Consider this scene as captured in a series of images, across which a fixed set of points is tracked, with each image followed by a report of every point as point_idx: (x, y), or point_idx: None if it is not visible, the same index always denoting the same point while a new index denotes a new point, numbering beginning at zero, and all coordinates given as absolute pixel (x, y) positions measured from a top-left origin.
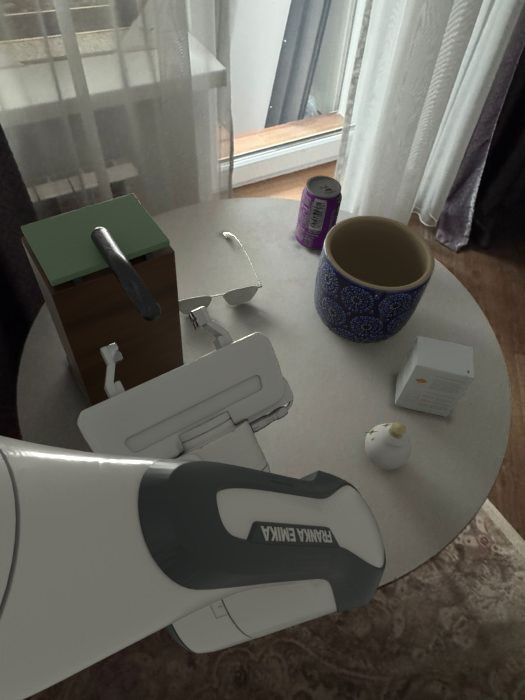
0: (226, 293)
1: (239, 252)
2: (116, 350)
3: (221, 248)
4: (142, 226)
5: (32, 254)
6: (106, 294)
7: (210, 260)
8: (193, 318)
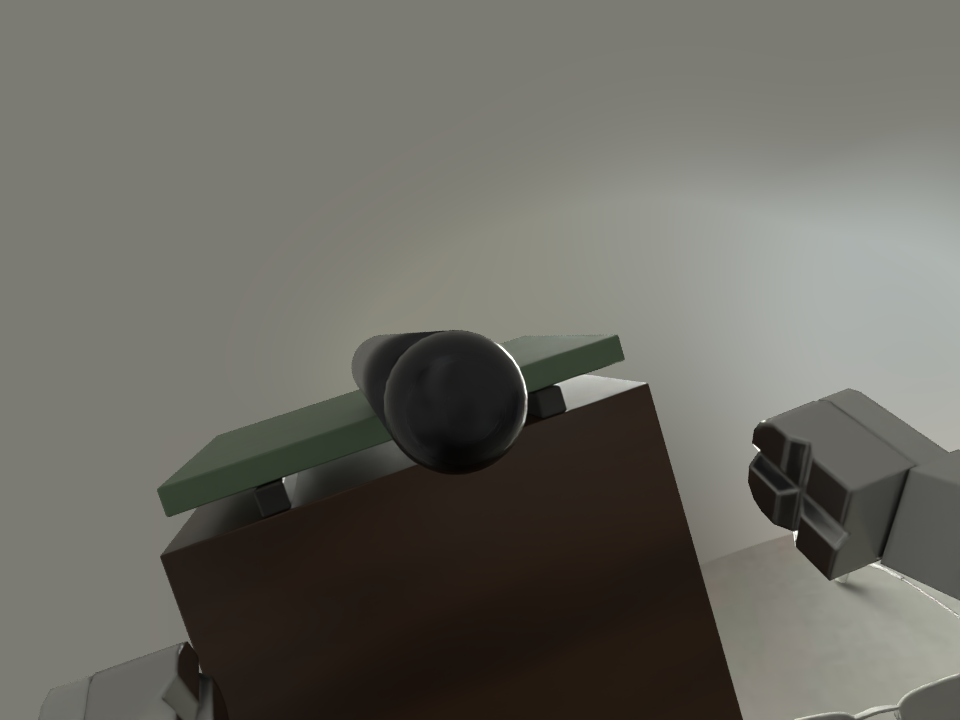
0: (907, 702)
1: (895, 608)
2: (150, 697)
3: (838, 607)
4: (532, 349)
5: None
6: (398, 575)
7: (816, 638)
8: (788, 485)
